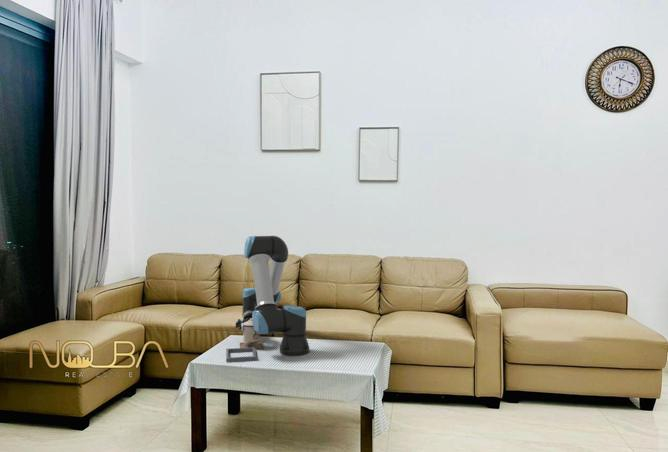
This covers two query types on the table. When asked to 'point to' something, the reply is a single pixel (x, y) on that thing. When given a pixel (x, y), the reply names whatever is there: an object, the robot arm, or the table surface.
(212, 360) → the table surface
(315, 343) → the table surface
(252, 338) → the teacup with lid
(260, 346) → the walnut coaster
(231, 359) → the holder tray
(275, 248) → the robot arm
